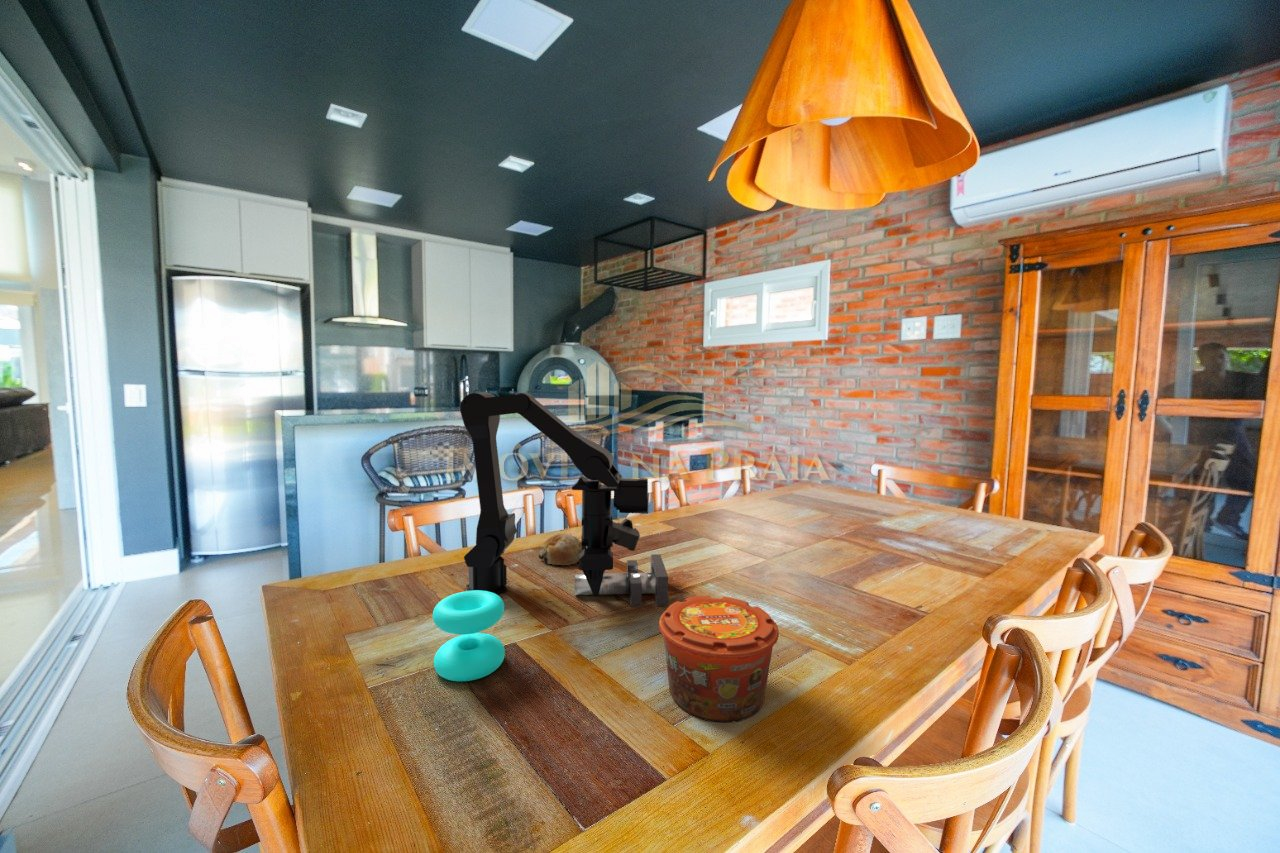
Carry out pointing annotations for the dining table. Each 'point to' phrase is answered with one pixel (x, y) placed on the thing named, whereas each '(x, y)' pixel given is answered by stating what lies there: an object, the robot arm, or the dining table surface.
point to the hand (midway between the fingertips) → (595, 588)
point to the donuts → (468, 635)
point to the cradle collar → (634, 584)
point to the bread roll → (561, 550)
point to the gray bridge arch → (660, 580)
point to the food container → (718, 656)
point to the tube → (616, 583)
